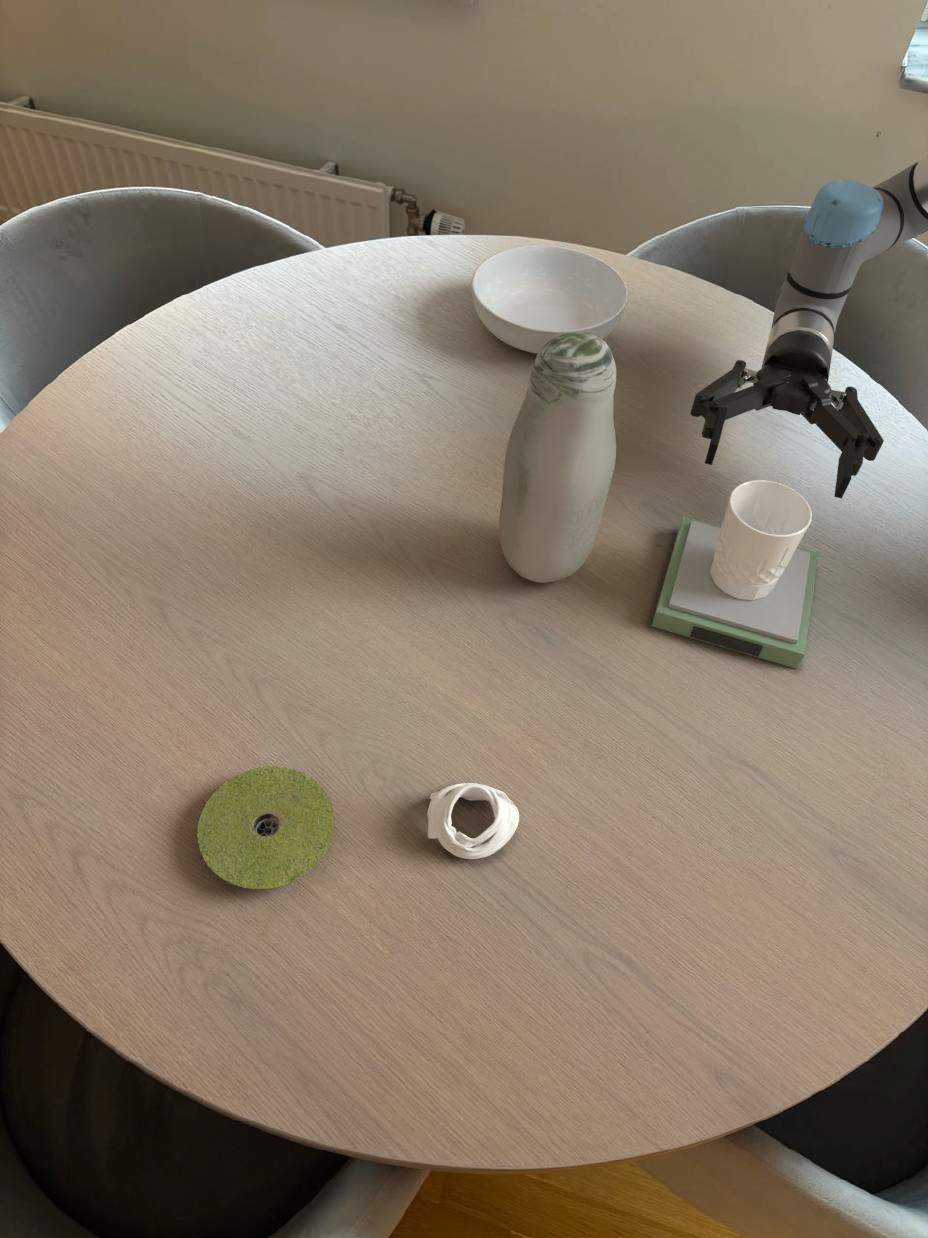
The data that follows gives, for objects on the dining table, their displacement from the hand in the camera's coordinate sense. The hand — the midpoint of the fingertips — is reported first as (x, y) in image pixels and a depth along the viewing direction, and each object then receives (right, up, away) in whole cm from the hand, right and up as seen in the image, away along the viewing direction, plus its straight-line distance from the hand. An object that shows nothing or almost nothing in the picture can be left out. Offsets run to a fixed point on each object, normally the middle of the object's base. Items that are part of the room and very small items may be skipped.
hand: (776, 471), depth 98 cm
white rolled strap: (-32, -33, -16) cm, 49 cm away
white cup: (-3, -11, +1) cm, 12 cm away
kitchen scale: (-3, -13, +3) cm, 14 cm away
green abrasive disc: (-49, -34, -17) cm, 62 cm away
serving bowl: (-21, +25, +33) cm, 46 cm away
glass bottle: (-24, -10, +5) cm, 26 cm away
